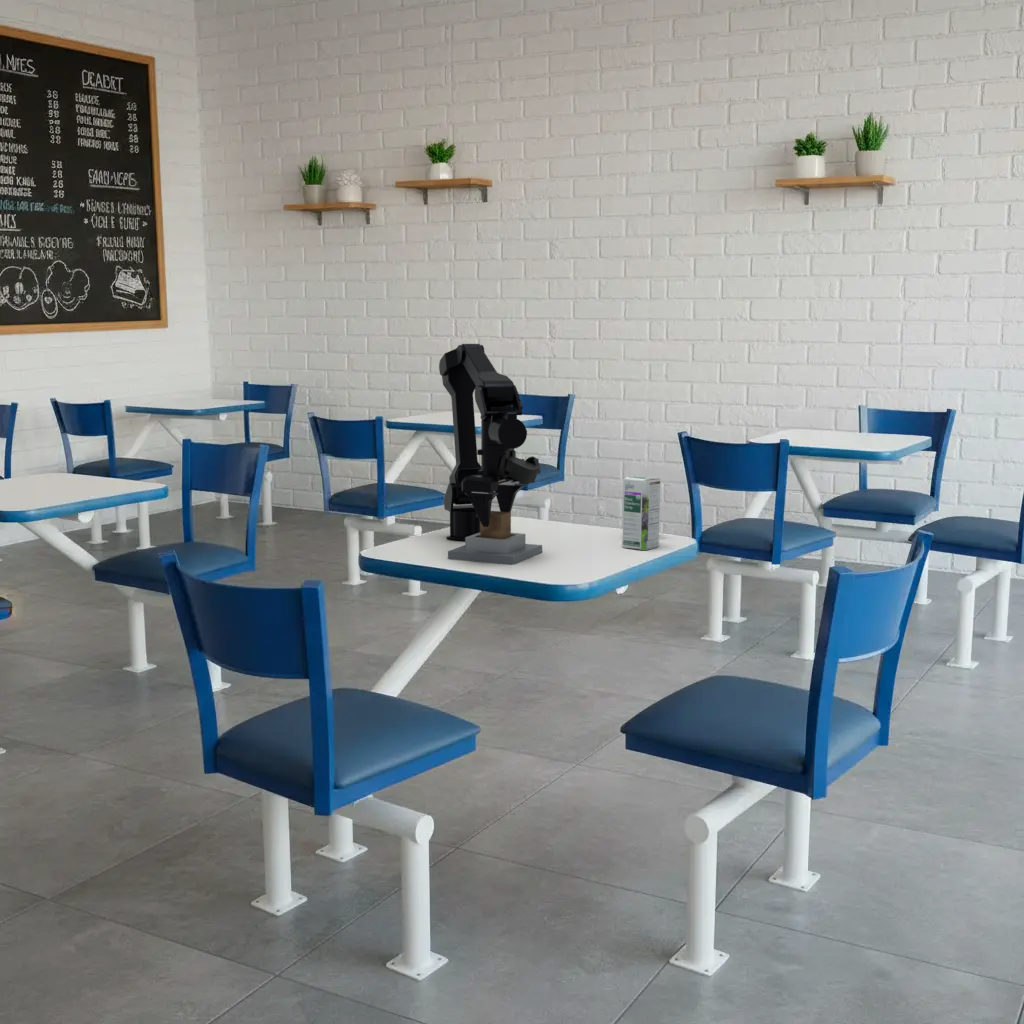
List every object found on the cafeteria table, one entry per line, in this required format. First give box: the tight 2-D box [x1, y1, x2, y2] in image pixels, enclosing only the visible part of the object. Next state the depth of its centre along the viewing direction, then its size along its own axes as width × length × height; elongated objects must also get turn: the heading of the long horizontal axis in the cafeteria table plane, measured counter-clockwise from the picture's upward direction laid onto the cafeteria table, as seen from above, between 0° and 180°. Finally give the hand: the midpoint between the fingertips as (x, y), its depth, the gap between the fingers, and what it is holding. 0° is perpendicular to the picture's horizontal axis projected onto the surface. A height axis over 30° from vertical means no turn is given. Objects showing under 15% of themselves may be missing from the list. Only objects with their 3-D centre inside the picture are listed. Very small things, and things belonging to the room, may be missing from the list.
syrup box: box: [621, 475, 661, 551], centre depth 249 cm, size 6×6×14 cm
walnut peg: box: [480, 510, 512, 539], centre depth 240 cm, size 4×4×7 cm
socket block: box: [447, 532, 543, 565], centre depth 240 cm, size 14×14×4 cm
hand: (495, 523), depth 240 cm, fingers open, 9 cm apart
